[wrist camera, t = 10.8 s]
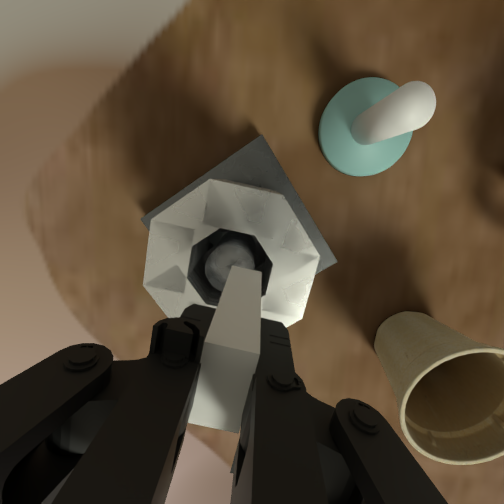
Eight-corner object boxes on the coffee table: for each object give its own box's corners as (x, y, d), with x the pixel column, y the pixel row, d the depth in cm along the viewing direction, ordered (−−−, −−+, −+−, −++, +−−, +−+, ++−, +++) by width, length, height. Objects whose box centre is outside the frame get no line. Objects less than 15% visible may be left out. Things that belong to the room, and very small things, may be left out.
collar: (188, 171, 19) (157, 167, 13) (312, 198, 19) (334, 206, 14) (170, 287, 21) (138, 327, 16) (282, 311, 22) (290, 358, 16)
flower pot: (392, 276, 25) (459, 324, 17) (476, 319, 26) (580, 386, 17) (338, 355, 27) (373, 433, 19) (417, 392, 28) (484, 483, 20)
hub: (261, 137, 22) (262, 107, 13) (332, 256, 25) (375, 300, 16) (147, 216, 24) (80, 237, 15) (223, 320, 26) (204, 392, 17)
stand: (382, 61, 21) (449, -3, 13) (421, 144, 22) (501, 126, 15) (302, 117, 22) (323, 85, 14) (343, 192, 23) (382, 197, 16)
